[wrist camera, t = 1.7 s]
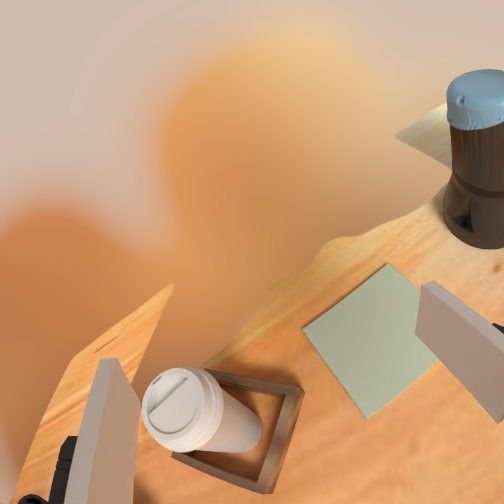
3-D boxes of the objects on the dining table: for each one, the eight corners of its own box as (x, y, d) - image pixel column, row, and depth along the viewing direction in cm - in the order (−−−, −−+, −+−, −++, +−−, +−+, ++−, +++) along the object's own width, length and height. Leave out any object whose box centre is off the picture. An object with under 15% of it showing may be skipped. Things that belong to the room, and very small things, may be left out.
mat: (303, 331, 43) (301, 329, 43) (388, 265, 44) (388, 263, 43) (366, 419, 31) (366, 418, 31) (463, 335, 32) (464, 333, 31)
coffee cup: (262, 388, 40) (201, 346, 30) (283, 449, 33) (222, 433, 23) (204, 412, 41) (133, 378, 31) (219, 471, 34) (141, 457, 24)
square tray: (215, 375, 45) (204, 368, 43) (304, 392, 37) (297, 386, 35) (183, 459, 37) (170, 457, 35) (272, 493, 29) (262, 494, 27)
